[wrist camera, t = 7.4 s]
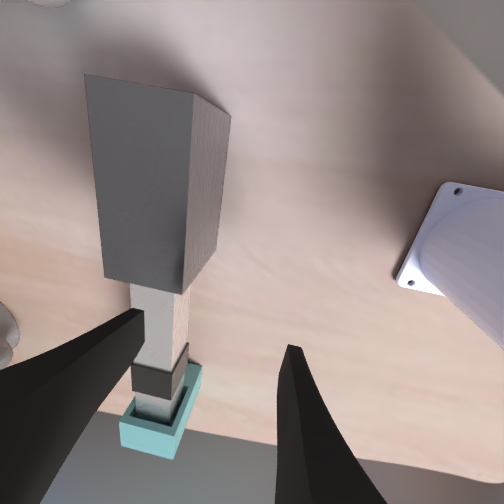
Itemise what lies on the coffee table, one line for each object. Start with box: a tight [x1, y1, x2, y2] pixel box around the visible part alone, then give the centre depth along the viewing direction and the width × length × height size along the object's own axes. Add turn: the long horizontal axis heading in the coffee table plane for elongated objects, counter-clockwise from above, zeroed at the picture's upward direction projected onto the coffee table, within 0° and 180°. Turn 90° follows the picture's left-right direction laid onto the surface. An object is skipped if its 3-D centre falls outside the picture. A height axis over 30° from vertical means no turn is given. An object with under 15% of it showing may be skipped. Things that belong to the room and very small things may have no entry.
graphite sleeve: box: [84, 74, 231, 295], centre depth 15 cm, size 5×10×7 cm, turn 170°
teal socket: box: [119, 362, 202, 460], centre depth 23 cm, size 5×4×7 cm
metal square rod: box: [130, 283, 191, 427], centre depth 18 cm, size 3×20×3 cm, turn 170°
